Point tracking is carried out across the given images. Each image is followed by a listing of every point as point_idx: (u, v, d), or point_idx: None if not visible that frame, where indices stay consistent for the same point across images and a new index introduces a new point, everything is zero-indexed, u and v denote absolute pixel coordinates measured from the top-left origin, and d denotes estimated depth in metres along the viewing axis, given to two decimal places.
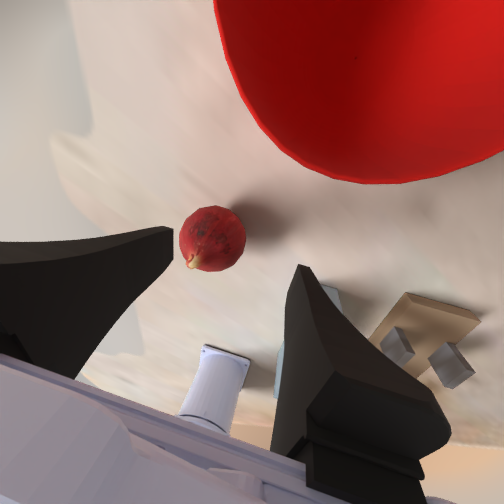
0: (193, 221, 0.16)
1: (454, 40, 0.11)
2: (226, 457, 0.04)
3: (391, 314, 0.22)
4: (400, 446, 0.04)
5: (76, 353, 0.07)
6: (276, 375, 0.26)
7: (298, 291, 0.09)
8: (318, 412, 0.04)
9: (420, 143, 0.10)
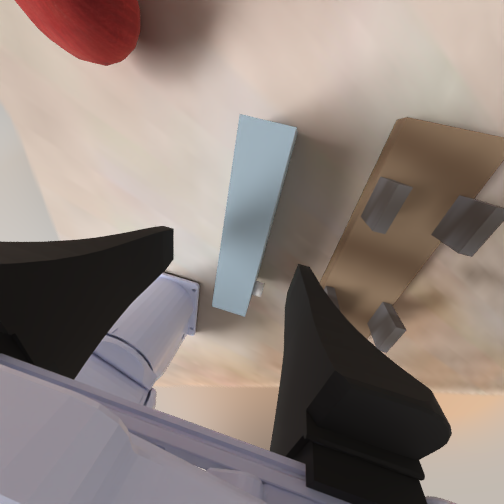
0: None
1: None
2: (227, 458, 0.04)
3: (376, 166, 0.15)
4: (400, 446, 0.04)
5: (76, 353, 0.07)
6: None
7: (297, 291, 0.09)
8: (318, 412, 0.04)
9: None
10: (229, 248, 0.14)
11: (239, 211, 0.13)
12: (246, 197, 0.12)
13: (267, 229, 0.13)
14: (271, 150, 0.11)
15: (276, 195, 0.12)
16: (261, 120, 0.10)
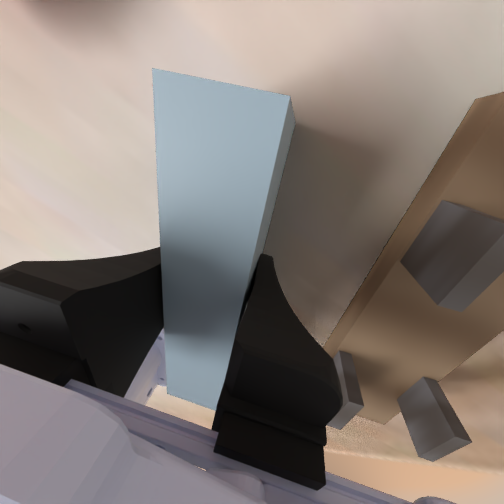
0: None
1: None
2: (226, 457, 0.04)
3: (431, 180, 0.09)
4: (304, 413, 0.04)
5: (127, 371, 0.07)
6: None
7: (254, 278, 0.09)
8: (230, 382, 0.05)
9: None
10: (178, 325, 0.08)
11: (185, 269, 0.07)
12: (194, 246, 0.06)
13: (240, 302, 0.07)
14: (234, 154, 0.05)
15: (253, 246, 0.06)
16: (204, 81, 0.04)
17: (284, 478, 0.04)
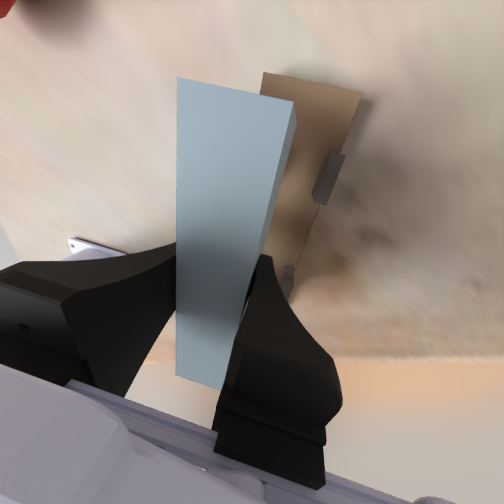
0: None
1: None
2: (226, 457, 0.04)
3: None
4: (304, 413, 0.04)
5: (128, 371, 0.07)
6: None
7: (254, 278, 0.09)
8: (230, 382, 0.05)
9: None
10: (189, 307, 0.09)
11: (198, 254, 0.07)
12: (206, 233, 0.07)
13: (246, 284, 0.08)
14: (245, 150, 0.06)
15: (259, 231, 0.07)
16: (220, 89, 0.05)
17: (284, 478, 0.04)
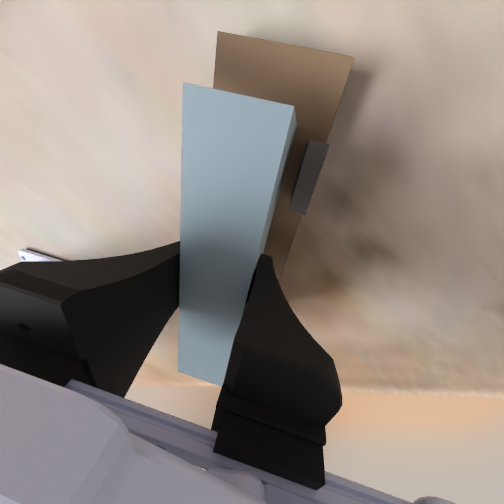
0: None
1: None
2: (227, 457, 0.04)
3: None
4: (304, 413, 0.04)
5: (128, 371, 0.07)
6: None
7: (254, 278, 0.09)
8: (229, 382, 0.05)
9: None
10: (192, 304, 0.09)
11: (201, 252, 0.08)
12: (210, 231, 0.07)
13: (248, 281, 0.08)
14: (247, 152, 0.06)
15: (261, 229, 0.07)
16: (224, 93, 0.05)
17: (284, 477, 0.04)
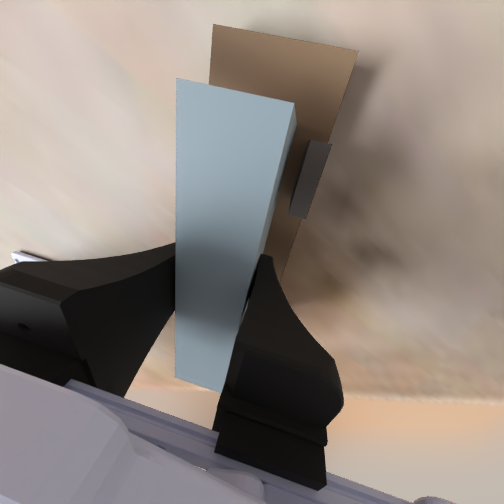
0: None
1: None
2: (227, 458, 0.04)
3: None
4: (305, 414, 0.04)
5: (127, 371, 0.07)
6: None
7: (254, 278, 0.09)
8: (230, 382, 0.05)
9: None
10: (189, 309, 0.09)
11: (198, 256, 0.07)
12: (206, 235, 0.07)
13: (246, 286, 0.08)
14: (245, 152, 0.05)
15: (259, 233, 0.06)
16: (220, 90, 0.05)
17: (285, 478, 0.04)
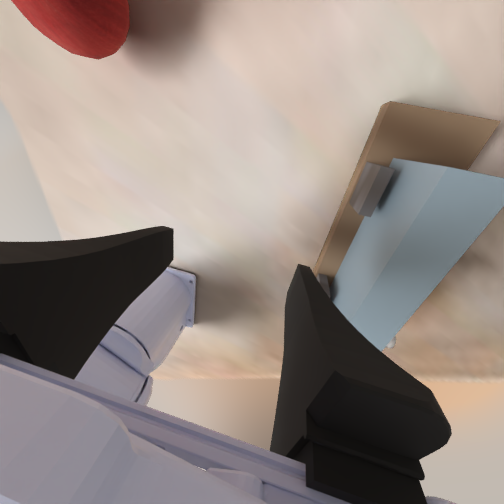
0: None
1: None
2: (227, 457, 0.04)
3: (363, 152, 0.15)
4: (400, 446, 0.04)
5: (76, 353, 0.07)
6: None
7: (298, 291, 0.09)
8: (318, 412, 0.04)
9: None
10: (374, 302, 0.13)
11: (404, 266, 0.11)
12: (419, 252, 0.11)
13: (434, 286, 0.11)
14: (476, 206, 0.09)
15: (462, 252, 0.10)
16: (475, 174, 0.09)
17: None
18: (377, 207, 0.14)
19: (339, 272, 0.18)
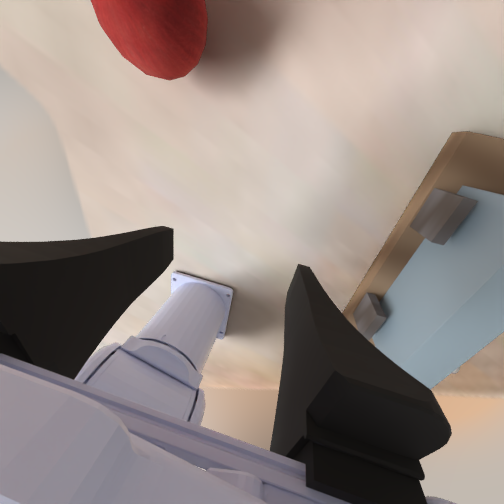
0: None
1: None
2: (227, 457, 0.04)
3: (428, 177, 0.15)
4: (400, 446, 0.04)
5: (76, 353, 0.07)
6: (380, 348, 0.18)
7: (297, 291, 0.09)
8: (318, 412, 0.04)
9: None
10: (449, 332, 0.13)
11: (489, 299, 0.11)
12: None
13: None
14: None
15: None
16: None
17: None
18: None
19: (389, 292, 0.18)
